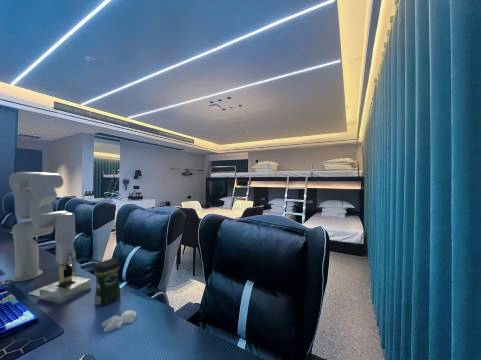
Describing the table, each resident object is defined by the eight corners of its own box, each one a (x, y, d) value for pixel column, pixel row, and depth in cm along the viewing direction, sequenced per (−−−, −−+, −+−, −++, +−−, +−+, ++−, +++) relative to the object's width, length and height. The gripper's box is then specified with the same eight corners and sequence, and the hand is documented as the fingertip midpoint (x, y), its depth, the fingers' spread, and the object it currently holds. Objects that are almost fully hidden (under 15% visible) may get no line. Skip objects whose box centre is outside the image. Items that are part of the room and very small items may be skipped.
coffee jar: (114, 293, 104) (113, 255, 103) (122, 298, 99) (122, 258, 99) (91, 302, 96) (91, 262, 95) (99, 308, 91) (99, 266, 91)
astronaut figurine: (100, 323, 83) (100, 315, 83) (134, 311, 90) (134, 304, 90) (103, 336, 76) (103, 327, 76) (139, 321, 84) (139, 314, 84)
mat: (28, 294, 103) (28, 293, 103) (47, 285, 111) (47, 285, 111) (39, 296, 101) (39, 295, 101) (57, 288, 108) (57, 287, 108)
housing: (39, 298, 99) (39, 289, 99) (71, 284, 112) (70, 275, 112) (60, 303, 95) (60, 293, 95) (90, 288, 108) (90, 279, 108)
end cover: (57, 285, 103) (57, 265, 103) (70, 281, 107) (70, 261, 107) (61, 288, 100) (61, 267, 100) (74, 284, 105) (73, 264, 104)
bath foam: (59, 280, 117) (58, 244, 116) (61, 275, 122) (60, 241, 122) (75, 277, 120) (74, 242, 120) (76, 272, 126) (75, 239, 126)
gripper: (49, 237, 105) (50, 273, 105) (61, 243, 96) (62, 283, 96) (68, 233, 111) (68, 268, 112) (81, 239, 102) (81, 276, 102)
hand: (65, 274), depth 104 cm, fingers closed on end cover, 5 cm apart
